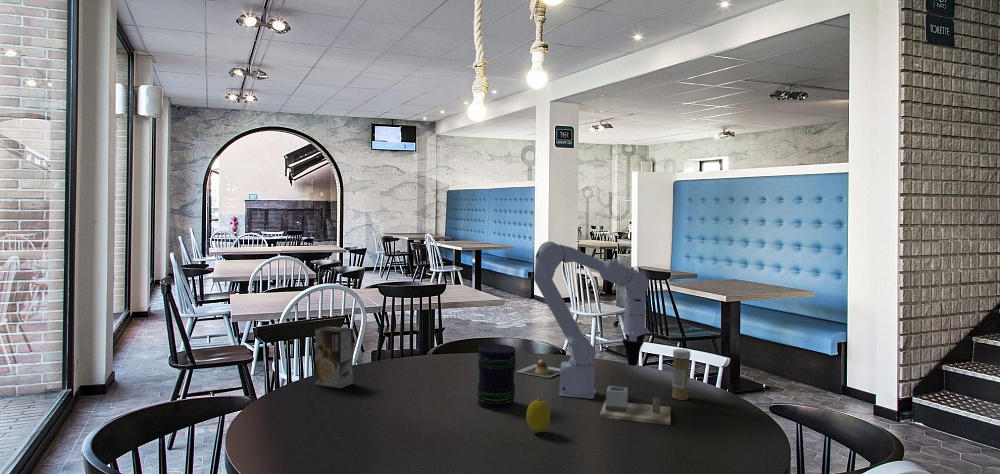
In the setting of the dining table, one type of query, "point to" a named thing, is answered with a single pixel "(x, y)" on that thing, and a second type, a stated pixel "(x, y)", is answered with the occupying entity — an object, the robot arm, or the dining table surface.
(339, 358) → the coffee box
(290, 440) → the dining table surface
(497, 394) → the storage jar
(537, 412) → the lemon
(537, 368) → the dessert
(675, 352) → the sprinkles bottle
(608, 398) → the sleeve
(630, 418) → the pin board
